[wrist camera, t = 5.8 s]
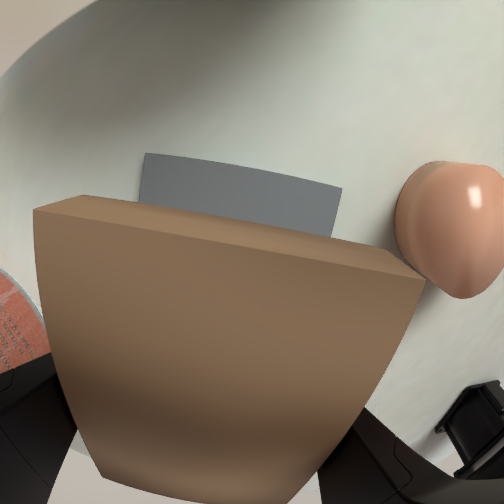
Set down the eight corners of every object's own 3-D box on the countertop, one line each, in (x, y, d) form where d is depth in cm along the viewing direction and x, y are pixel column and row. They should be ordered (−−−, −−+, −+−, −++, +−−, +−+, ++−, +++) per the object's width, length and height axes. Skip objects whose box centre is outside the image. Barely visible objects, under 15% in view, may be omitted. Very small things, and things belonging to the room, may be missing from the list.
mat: (281, 384, 16) (281, 389, 16) (138, 359, 16) (135, 363, 15) (339, 187, 12) (342, 188, 12) (148, 153, 12) (145, 153, 11)
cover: (279, 474, 9) (282, 508, 7) (114, 445, 8) (102, 477, 7) (385, 249, 6) (426, 280, 4) (82, 194, 5) (32, 209, 4)
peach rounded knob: (458, 278, 14) (491, 303, 11) (380, 263, 14) (412, 291, 10) (484, 181, 12) (524, 190, 9) (409, 144, 12) (450, 143, 8)
